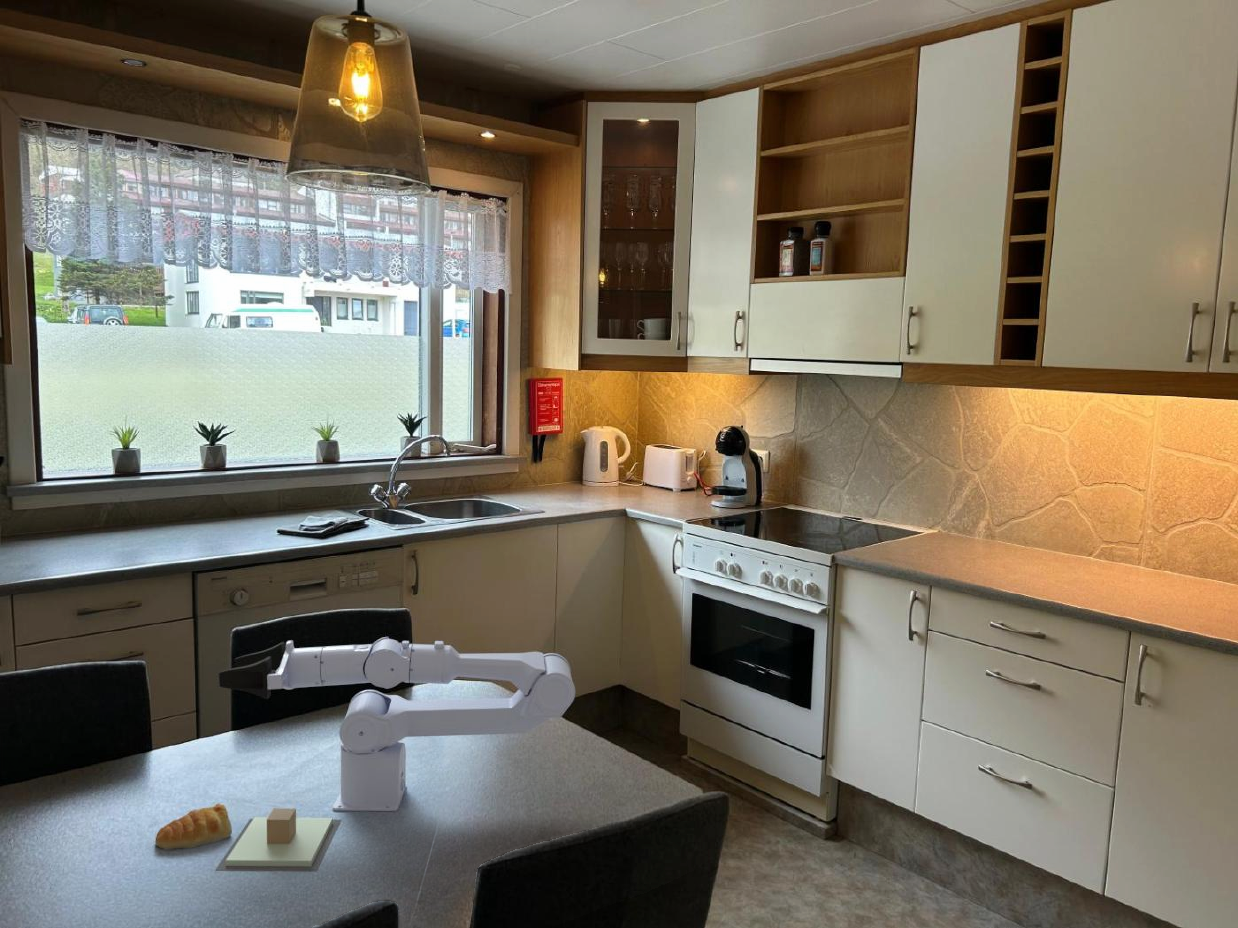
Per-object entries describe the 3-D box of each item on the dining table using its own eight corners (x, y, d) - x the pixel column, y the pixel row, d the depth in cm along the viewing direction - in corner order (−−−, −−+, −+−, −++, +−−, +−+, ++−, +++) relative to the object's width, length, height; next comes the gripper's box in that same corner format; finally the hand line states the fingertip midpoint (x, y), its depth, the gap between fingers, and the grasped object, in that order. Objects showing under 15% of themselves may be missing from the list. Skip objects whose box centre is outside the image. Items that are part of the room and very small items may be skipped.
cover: (332, 822, 131) (332, 794, 131) (311, 866, 120) (310, 835, 120) (254, 822, 131) (254, 793, 130) (225, 865, 120) (225, 834, 119)
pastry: (162, 861, 121) (161, 833, 121) (150, 839, 126) (149, 813, 126) (235, 839, 127) (235, 813, 126) (221, 819, 132) (220, 794, 132)
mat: (341, 820, 132) (341, 819, 132) (316, 871, 119) (316, 870, 119) (250, 819, 132) (250, 818, 132) (215, 871, 119) (215, 869, 119)
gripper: (331, 628, 142) (240, 633, 141) (312, 651, 128) (211, 657, 126) (333, 673, 143) (242, 678, 141) (314, 700, 128) (213, 707, 127)
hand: (227, 672), depth 134 cm, fingers open, 7 cm apart
